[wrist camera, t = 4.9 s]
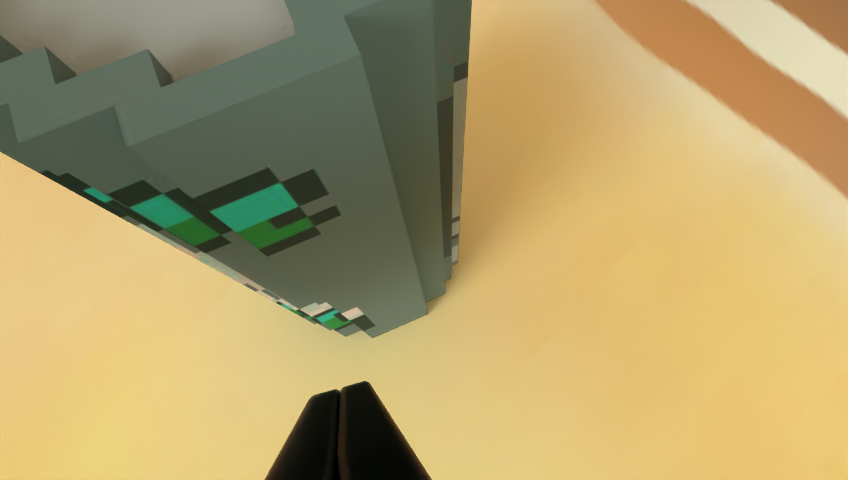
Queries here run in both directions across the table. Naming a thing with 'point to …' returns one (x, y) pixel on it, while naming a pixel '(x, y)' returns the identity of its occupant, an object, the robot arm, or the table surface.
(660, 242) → the table surface
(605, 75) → the table surface
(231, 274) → the can
